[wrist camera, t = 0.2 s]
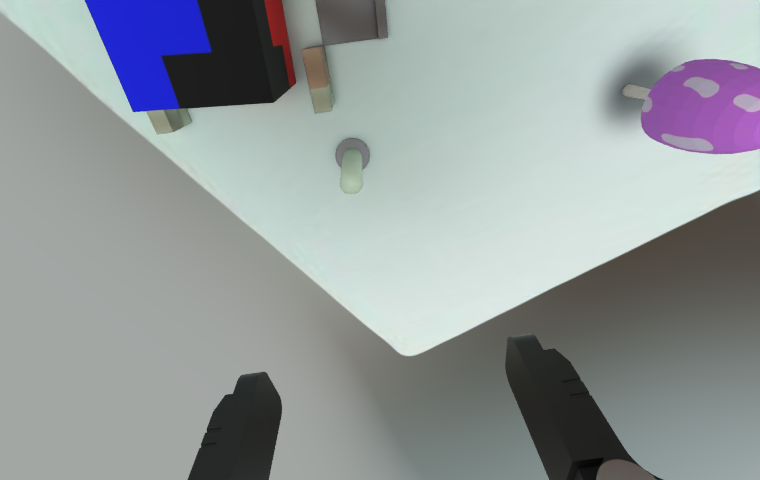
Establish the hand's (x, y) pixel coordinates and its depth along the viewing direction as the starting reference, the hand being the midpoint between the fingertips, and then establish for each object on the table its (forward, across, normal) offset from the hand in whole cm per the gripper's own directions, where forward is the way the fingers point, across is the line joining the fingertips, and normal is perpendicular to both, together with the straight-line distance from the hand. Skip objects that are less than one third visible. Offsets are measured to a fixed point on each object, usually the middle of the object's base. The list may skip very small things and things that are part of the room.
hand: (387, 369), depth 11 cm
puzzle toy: (+29, +10, -11) cm, 33 cm away
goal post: (+29, +2, +2) cm, 29 cm away
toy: (+29, -27, 0) cm, 40 cm away
